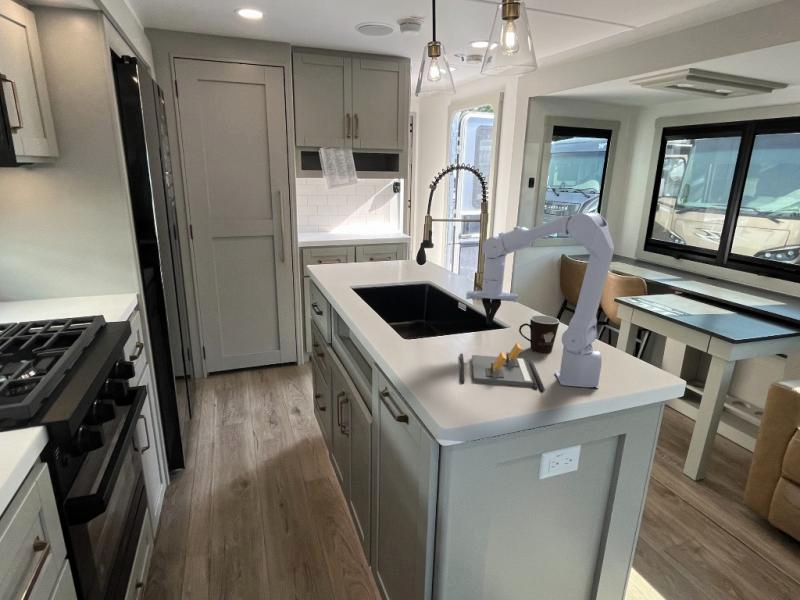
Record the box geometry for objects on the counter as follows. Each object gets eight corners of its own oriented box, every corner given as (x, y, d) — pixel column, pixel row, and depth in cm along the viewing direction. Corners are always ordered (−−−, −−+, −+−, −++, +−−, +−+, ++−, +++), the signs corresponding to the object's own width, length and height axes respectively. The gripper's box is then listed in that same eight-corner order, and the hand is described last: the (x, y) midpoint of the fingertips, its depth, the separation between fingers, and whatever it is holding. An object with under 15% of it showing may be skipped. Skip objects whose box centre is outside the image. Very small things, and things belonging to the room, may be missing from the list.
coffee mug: (554, 347, 147) (558, 317, 144) (556, 356, 139) (560, 325, 136) (517, 342, 150) (520, 313, 147) (516, 351, 142) (519, 320, 139)
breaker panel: (523, 362, 133) (525, 352, 132) (532, 386, 118) (534, 375, 117) (471, 358, 135) (472, 348, 134) (474, 382, 119) (475, 370, 119)
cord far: (463, 356, 136) (463, 353, 136) (464, 383, 118) (464, 380, 118) (459, 355, 137) (459, 352, 136) (460, 383, 118) (460, 380, 118)
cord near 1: (532, 362, 134) (532, 359, 133) (544, 392, 115) (545, 388, 115) (528, 362, 134) (529, 359, 133) (540, 391, 115) (541, 388, 115)
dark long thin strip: (527, 363, 133) (527, 360, 132) (537, 389, 116) (538, 386, 116) (524, 363, 133) (524, 360, 133) (533, 389, 116) (534, 385, 116)
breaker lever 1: (495, 368, 124) (505, 353, 123) (496, 374, 120) (506, 359, 119) (491, 366, 124) (501, 351, 123) (492, 372, 120) (502, 357, 119)
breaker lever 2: (510, 358, 131) (519, 344, 130) (512, 364, 127) (521, 349, 126) (506, 356, 131) (516, 342, 130) (508, 362, 127) (518, 347, 126)
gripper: (517, 277, 135) (512, 321, 139) (467, 274, 136) (464, 317, 140) (520, 282, 128) (515, 328, 132) (468, 279, 130) (464, 325, 133)
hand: (489, 323), depth 136 cm, fingers closed
